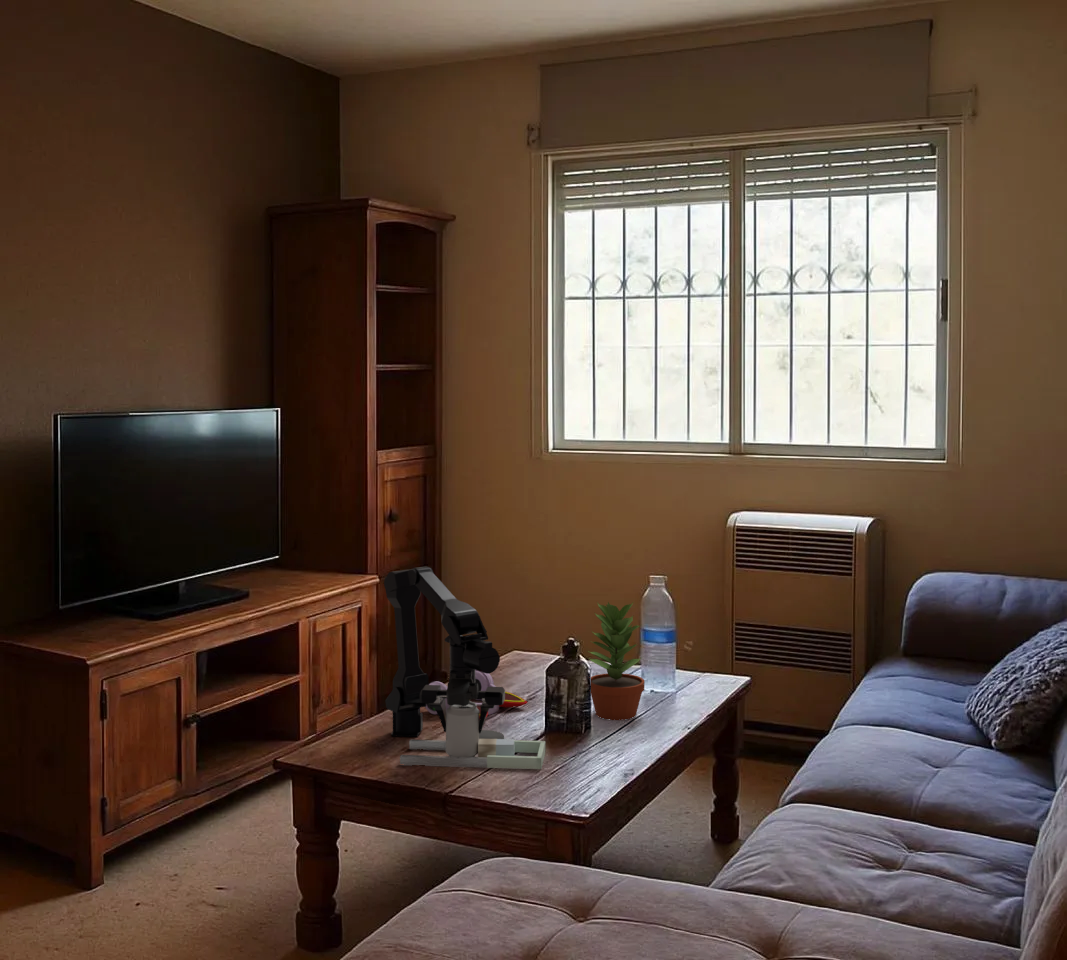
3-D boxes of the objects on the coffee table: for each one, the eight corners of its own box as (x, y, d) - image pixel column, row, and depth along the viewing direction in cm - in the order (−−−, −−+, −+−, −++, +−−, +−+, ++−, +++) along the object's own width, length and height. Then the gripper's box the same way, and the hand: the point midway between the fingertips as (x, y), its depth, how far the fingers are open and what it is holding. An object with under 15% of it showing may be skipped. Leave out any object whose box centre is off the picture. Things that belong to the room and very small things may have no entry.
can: (452, 762, 263) (453, 709, 261) (440, 752, 269) (441, 700, 268) (483, 758, 266) (484, 706, 265) (471, 748, 272) (472, 697, 271)
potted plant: (648, 707, 307) (649, 593, 304) (640, 724, 292) (641, 605, 290) (591, 704, 310) (592, 591, 308) (581, 720, 296) (581, 602, 293)
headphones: (469, 667, 319) (527, 669, 306) (473, 703, 319) (531, 707, 306) (419, 682, 303) (478, 685, 291) (423, 720, 303) (482, 725, 291)
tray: (487, 767, 261) (487, 756, 261) (493, 750, 273) (493, 739, 273) (541, 769, 260) (541, 758, 260) (545, 751, 272) (545, 741, 272)
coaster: (459, 745, 277) (459, 742, 277) (465, 731, 287) (465, 729, 287) (501, 746, 276) (501, 743, 276) (506, 733, 286) (506, 730, 286)
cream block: (478, 761, 265) (478, 744, 265) (479, 755, 269) (479, 738, 269) (495, 761, 265) (495, 744, 265) (496, 755, 269) (496, 738, 269)
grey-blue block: (496, 762, 265) (495, 744, 265) (496, 756, 269) (496, 739, 269) (513, 762, 265) (513, 744, 265) (514, 756, 269) (514, 739, 269)
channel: (400, 765, 263) (399, 756, 263) (410, 747, 275) (410, 739, 275) (487, 767, 261) (487, 758, 261) (493, 750, 273) (493, 741, 273)
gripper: (414, 672, 258) (415, 742, 260) (499, 674, 257) (499, 744, 258) (424, 659, 270) (424, 726, 271) (505, 662, 268) (505, 729, 269)
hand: (462, 732), depth 267 cm, fingers closed on can, 7 cm apart
